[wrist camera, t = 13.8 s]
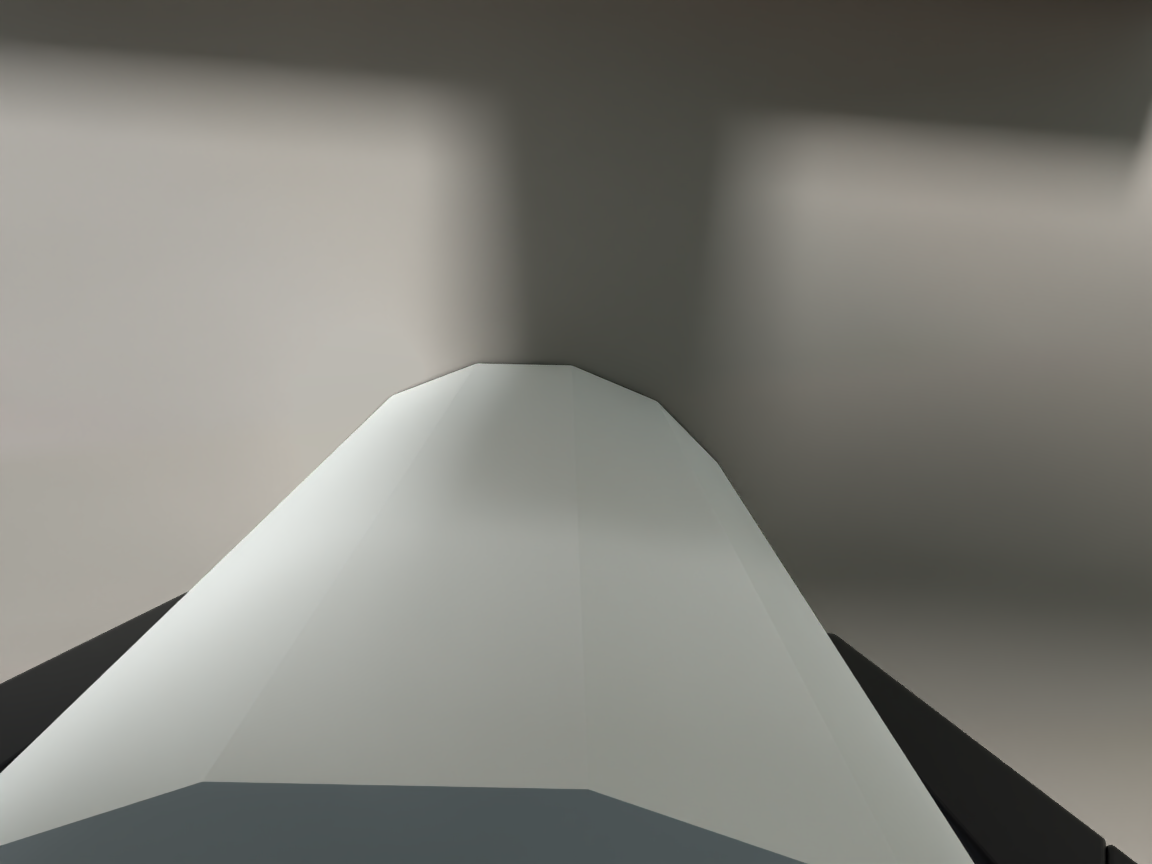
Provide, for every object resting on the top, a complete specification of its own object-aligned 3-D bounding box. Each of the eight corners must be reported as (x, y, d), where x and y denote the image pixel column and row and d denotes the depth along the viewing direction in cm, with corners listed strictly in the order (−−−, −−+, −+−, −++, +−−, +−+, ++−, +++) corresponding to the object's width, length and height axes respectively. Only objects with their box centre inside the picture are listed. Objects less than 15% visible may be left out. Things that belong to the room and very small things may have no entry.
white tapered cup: (463, 841, 12) (329, 1677, 6) (140, 496, 10) (-650, 1203, 4) (883, 639, 11) (1337, 1441, 4) (611, 186, 9) (706, 432, 2)
